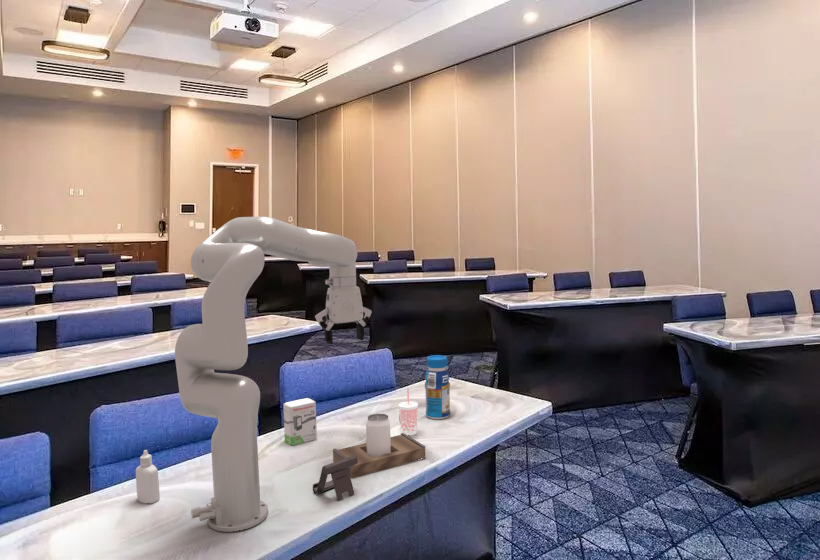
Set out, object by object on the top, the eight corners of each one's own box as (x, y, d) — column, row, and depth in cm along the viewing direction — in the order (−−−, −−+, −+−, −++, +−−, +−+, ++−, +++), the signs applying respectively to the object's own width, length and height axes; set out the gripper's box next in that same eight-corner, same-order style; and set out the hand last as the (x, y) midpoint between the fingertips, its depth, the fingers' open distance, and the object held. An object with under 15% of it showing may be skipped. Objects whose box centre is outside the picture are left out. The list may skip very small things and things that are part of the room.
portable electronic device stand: (343, 481, 136) (342, 448, 136) (362, 491, 131) (361, 458, 130) (312, 493, 131) (311, 459, 130) (331, 504, 125) (329, 469, 124)
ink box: (291, 446, 160) (289, 406, 159) (284, 441, 164) (282, 402, 163) (317, 439, 165) (316, 400, 164) (310, 434, 169) (308, 397, 168)
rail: (351, 478, 138) (351, 465, 138) (333, 461, 148) (332, 449, 148) (425, 458, 149) (425, 446, 149) (403, 444, 159) (403, 432, 159)
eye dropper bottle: (156, 492, 132) (153, 444, 131) (160, 501, 128) (157, 452, 127) (136, 497, 130) (133, 448, 129) (140, 507, 125) (136, 456, 124)
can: (369, 466, 145) (368, 422, 144) (365, 456, 151) (363, 414, 150) (393, 463, 146) (392, 419, 145) (388, 454, 153) (387, 412, 152)
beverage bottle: (421, 413, 186) (420, 355, 184) (445, 410, 189) (444, 353, 187) (430, 421, 178) (429, 361, 176) (454, 418, 181) (453, 358, 179)
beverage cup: (422, 434, 167) (421, 389, 166) (403, 437, 164) (402, 392, 163) (414, 428, 172) (413, 384, 171) (396, 431, 170) (395, 387, 169)
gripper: (319, 285, 150) (321, 347, 151) (375, 281, 159) (377, 339, 160) (309, 283, 156) (312, 343, 158) (364, 280, 165) (366, 336, 166)
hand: (345, 341), depth 159 cm, fingers open, 9 cm apart
